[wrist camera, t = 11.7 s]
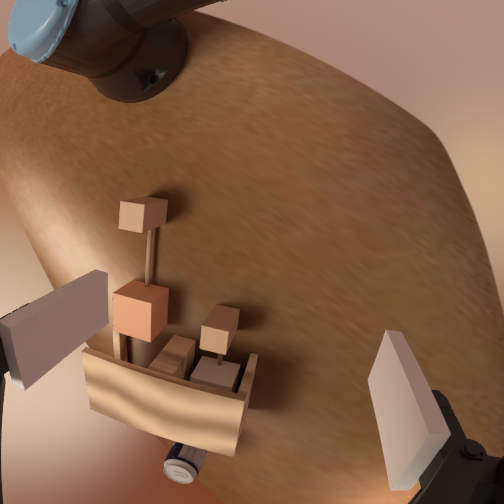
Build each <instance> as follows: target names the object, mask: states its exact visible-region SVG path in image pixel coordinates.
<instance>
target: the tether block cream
mask: <svg viewBox="0 0 504 504" xmlns="http://www.w3.org/2000/svg"><path fill="white" fill-rule="evenodd" d="M239 313H240V309H237V308H232V307H228V306H223V305H218V304H216V306H215V307H214V309H213V310H212V312H211V313H210V314H209V316H208V317H207V319H206V320H205V322H204V323H203V325H202V329H201V340H200V349H203V350H207V351H211V352H216V353H218V359H214V358H210V357H206V356H202V357H201V359H200V361H199V362H198V364H197V366H196V368H195V369H194V371H193V373H192V374H191V376H190V382H193V383H197V384H201V385H205V386H208V387H212V388H216V389H221V390H225V391H229V392H233V393H236V389H237V383H238V377H239V371H240V364H236V363H231V362H227V361H222V358H223V354H224V355H226V353H227V351H228V349H229V347H230V344H231V342H232V340H233V338H234V336H235V333H236V331H237V327H238V320H239Z"/></svg>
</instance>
